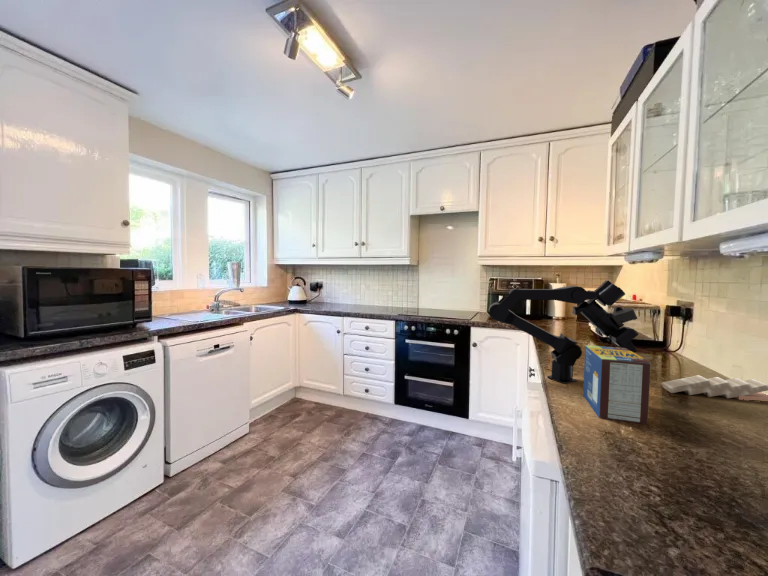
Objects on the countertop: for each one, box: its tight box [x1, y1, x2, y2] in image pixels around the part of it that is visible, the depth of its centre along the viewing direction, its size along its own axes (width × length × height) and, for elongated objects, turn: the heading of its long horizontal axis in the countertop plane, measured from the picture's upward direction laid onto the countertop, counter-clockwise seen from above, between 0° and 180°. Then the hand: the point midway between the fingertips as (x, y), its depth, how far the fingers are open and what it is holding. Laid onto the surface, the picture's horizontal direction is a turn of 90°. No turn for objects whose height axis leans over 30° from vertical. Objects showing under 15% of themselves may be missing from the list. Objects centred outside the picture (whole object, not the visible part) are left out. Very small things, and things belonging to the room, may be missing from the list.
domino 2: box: [683, 376, 731, 396], centre depth 96 cm, size 2×5×10 cm
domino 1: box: [661, 374, 711, 394], centre depth 98 cm, size 2×5×10 cm
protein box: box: [582, 344, 652, 425], centre depth 85 cm, size 10×15×16 cm
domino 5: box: [733, 392, 768, 401], centre depth 94 cm, size 2×5×10 cm
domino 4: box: [720, 378, 768, 399], centre depth 94 cm, size 2×5×10 cm
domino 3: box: [702, 377, 751, 398], centre depth 95 cm, size 2×5×10 cm
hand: (635, 351), depth 101 cm, fingers closed
